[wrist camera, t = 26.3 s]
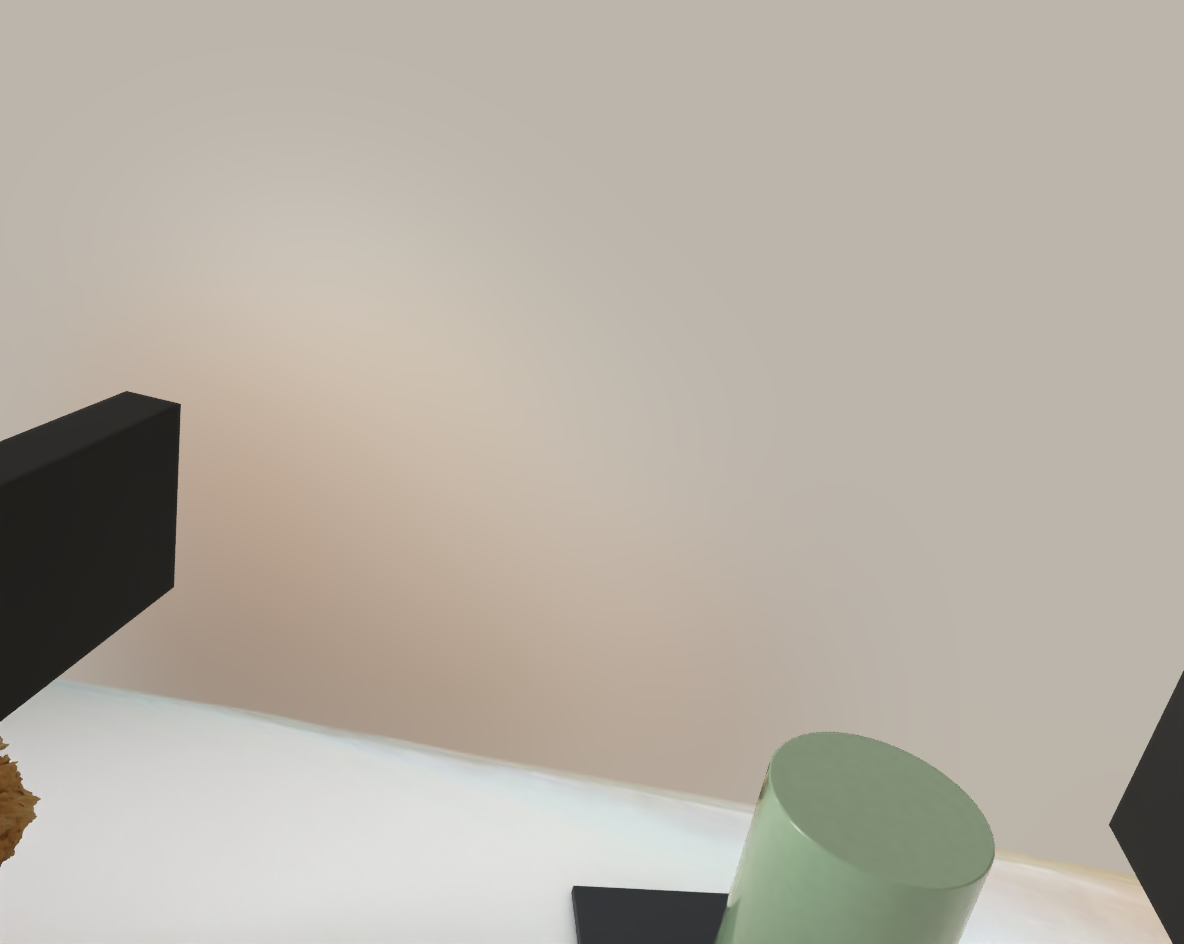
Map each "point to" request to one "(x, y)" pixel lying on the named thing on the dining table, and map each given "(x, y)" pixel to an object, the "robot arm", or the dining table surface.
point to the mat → (646, 916)
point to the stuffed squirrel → (13, 806)
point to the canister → (857, 849)
